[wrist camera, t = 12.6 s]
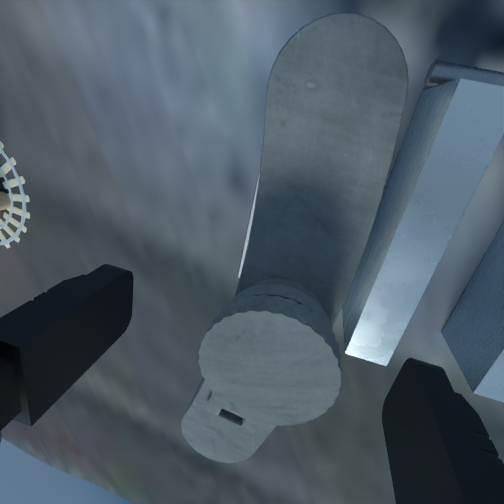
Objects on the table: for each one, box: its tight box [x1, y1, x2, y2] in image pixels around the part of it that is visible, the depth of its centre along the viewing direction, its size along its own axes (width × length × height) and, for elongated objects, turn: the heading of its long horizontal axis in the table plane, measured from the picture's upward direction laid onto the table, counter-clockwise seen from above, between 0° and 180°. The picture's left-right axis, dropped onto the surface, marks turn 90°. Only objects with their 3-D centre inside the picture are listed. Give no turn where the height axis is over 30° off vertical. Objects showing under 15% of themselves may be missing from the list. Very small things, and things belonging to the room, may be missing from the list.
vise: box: [342, 60, 504, 402], centre depth 21 cm, size 14×19×7 cm
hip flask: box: [181, 12, 408, 463], centre depth 17 cm, size 16×4×20 cm, turn 165°
